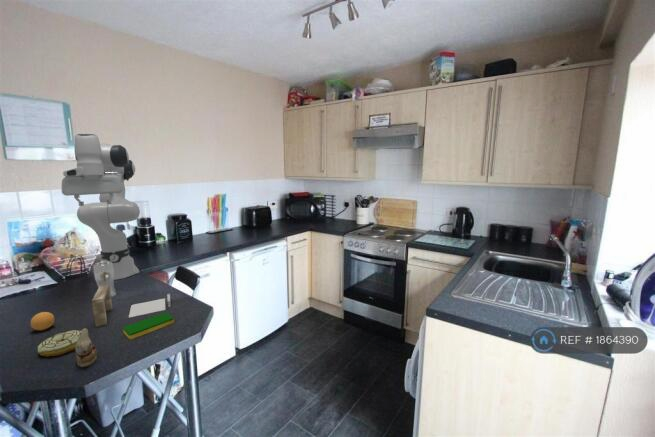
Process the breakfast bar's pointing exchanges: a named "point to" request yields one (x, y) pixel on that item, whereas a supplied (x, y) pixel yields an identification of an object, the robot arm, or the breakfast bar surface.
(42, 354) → the decorated donut
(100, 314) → the bridge
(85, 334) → the chocolate bunny
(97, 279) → the beer glass
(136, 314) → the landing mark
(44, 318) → the ball
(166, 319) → the dish sponge
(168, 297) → the stopper
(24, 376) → the breakfast bar surface
